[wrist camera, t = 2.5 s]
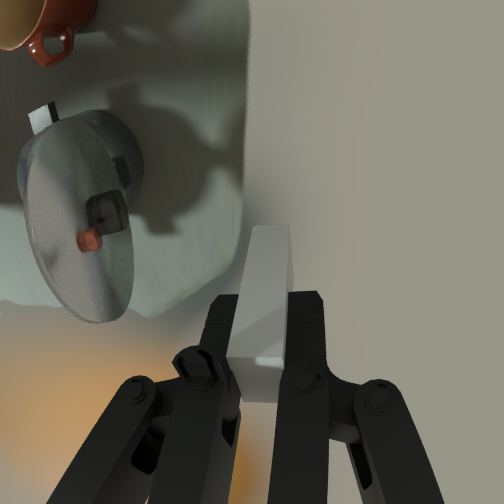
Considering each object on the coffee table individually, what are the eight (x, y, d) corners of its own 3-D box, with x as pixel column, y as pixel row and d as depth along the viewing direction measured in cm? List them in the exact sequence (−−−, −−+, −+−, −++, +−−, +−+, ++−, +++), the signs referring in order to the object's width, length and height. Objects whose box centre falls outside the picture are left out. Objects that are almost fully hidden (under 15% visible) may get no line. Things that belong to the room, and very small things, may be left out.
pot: (81, 231, 41) (53, 264, 35) (38, 112, 30) (-3, 131, 24) (169, 220, 38) (146, 259, 32) (129, 73, 27) (89, 84, 21)
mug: (42, 4, 21) (-17, 8, 13) (95, -37, 18) (38, -50, 10) (69, 75, 27) (10, 93, 19) (125, 37, 25) (68, 41, 17)
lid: (106, 368, 18) (145, 363, 18) (-12, 160, 10) (32, 136, 10) (134, 245, 31) (161, 238, 31) (88, 106, 22) (118, 96, 22)
